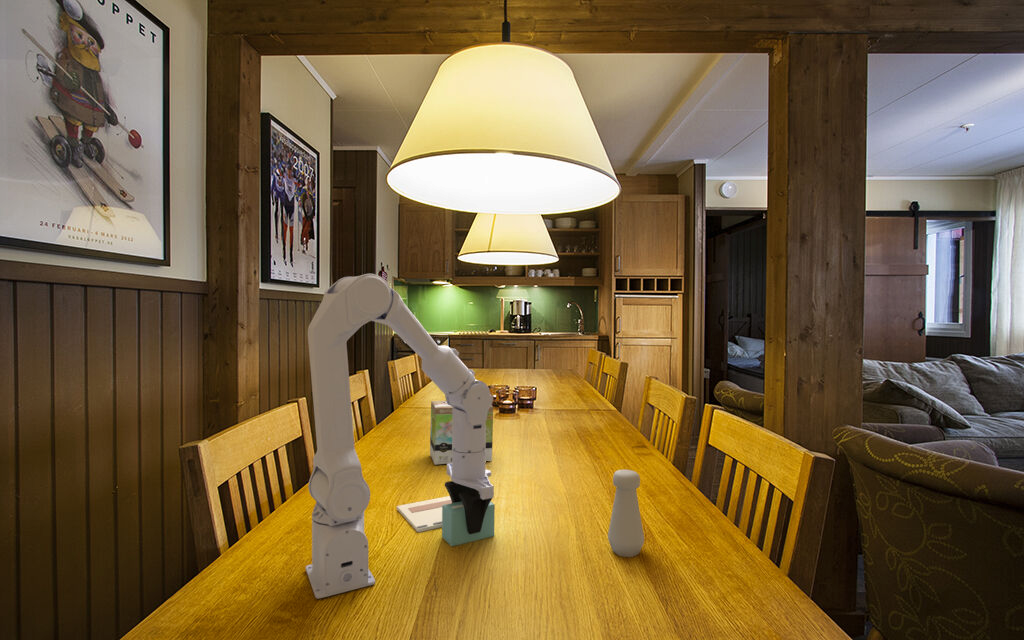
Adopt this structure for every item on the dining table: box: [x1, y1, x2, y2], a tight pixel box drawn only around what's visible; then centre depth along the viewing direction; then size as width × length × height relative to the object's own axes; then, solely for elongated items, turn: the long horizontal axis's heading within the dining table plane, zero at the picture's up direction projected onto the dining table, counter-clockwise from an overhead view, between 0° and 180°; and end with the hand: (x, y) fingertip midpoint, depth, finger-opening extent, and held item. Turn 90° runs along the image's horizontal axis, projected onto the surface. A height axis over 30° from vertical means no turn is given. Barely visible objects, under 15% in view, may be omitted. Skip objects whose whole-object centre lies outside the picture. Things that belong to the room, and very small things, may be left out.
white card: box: [396, 495, 452, 533], centre depth 98 cm, size 12×14×1 cm
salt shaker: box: [607, 469, 645, 558], centre depth 83 cm, size 6×6×13 cm
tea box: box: [429, 400, 494, 466], centre depth 134 cm, size 15×10×15 cm, turn 105°
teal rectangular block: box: [441, 501, 496, 547], centre depth 88 cm, size 4×8×6 cm, turn 120°
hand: (468, 527), depth 88 cm, fingers closed on teal rectangular block, 4 cm apart
